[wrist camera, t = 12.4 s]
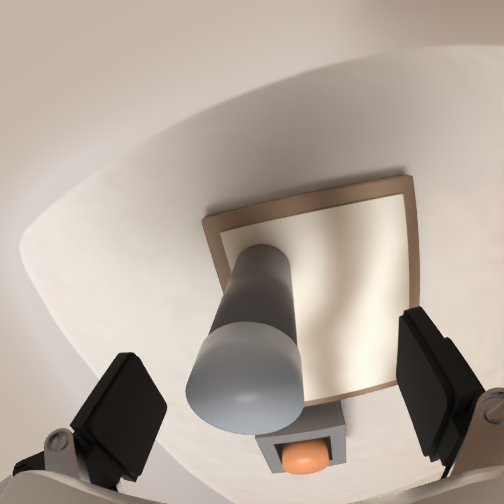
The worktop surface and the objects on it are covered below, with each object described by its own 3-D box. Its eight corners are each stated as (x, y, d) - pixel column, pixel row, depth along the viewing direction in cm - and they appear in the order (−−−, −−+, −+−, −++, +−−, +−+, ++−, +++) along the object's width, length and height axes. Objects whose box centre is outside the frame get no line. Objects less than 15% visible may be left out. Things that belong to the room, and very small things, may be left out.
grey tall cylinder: (285, 237, 18) (294, 351, 7) (297, 291, 19) (310, 428, 9) (226, 249, 18) (167, 364, 8) (241, 301, 19) (208, 436, 9)
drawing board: (404, 174, 17) (413, 176, 16) (408, 371, 23) (412, 381, 21) (205, 216, 19) (200, 221, 18) (265, 403, 25) (264, 413, 23)
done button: (324, 426, 23) (327, 451, 20) (327, 448, 24) (330, 470, 21) (278, 433, 23) (278, 458, 21) (286, 454, 25) (286, 476, 22)
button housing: (339, 397, 24) (345, 424, 21) (342, 438, 26) (346, 462, 23) (257, 410, 25) (255, 438, 22) (273, 449, 27) (272, 473, 24)
